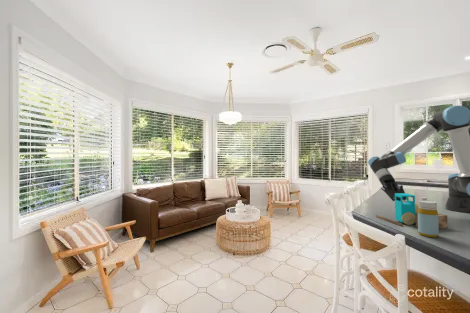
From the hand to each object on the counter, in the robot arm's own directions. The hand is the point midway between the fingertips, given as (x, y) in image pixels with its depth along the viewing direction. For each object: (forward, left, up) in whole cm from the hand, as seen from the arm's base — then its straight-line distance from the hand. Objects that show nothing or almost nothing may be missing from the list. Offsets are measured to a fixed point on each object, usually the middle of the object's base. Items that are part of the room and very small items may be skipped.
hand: (407, 211), depth 126 cm
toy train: (0, +5, -5) cm, 7 cm away
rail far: (+12, 0, -5) cm, 13 cm away
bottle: (+11, +22, -5) cm, 25 cm away
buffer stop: (0, +13, -5) cm, 14 cm away
